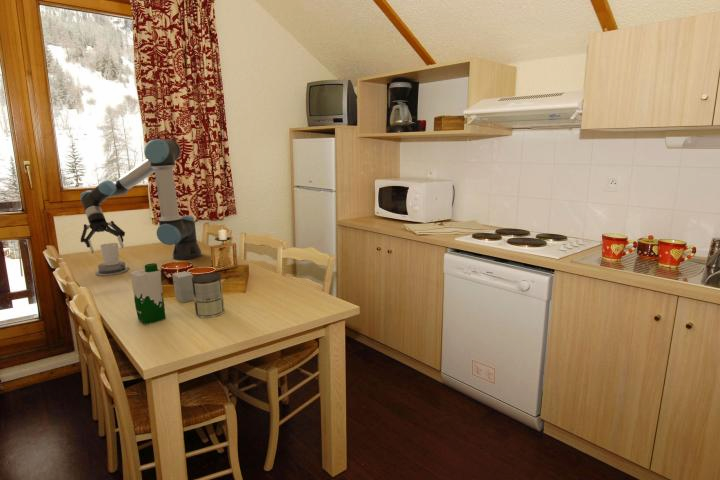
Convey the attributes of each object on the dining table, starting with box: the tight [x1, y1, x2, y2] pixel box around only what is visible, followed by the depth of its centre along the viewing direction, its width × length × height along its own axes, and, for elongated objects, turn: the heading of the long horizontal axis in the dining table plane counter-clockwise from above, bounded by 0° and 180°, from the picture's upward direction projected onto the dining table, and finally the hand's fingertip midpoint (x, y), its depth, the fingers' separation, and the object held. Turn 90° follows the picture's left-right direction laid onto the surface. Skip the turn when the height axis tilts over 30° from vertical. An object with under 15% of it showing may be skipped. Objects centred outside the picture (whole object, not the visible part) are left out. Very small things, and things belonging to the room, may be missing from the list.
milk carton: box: [130, 262, 166, 325], centre depth 161 cm, size 9×9×20 cm
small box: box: [171, 271, 194, 303], centre depth 183 cm, size 8×6×10 cm
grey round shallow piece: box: [95, 260, 130, 277], centre depth 229 cm, size 15×15×4 cm
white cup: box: [99, 242, 120, 265], centre depth 228 cm, size 8×8×10 cm
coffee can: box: [192, 272, 226, 319], centre depth 167 cm, size 10×10×14 cm
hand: (107, 249), depth 228 cm, fingers open, 13 cm apart
